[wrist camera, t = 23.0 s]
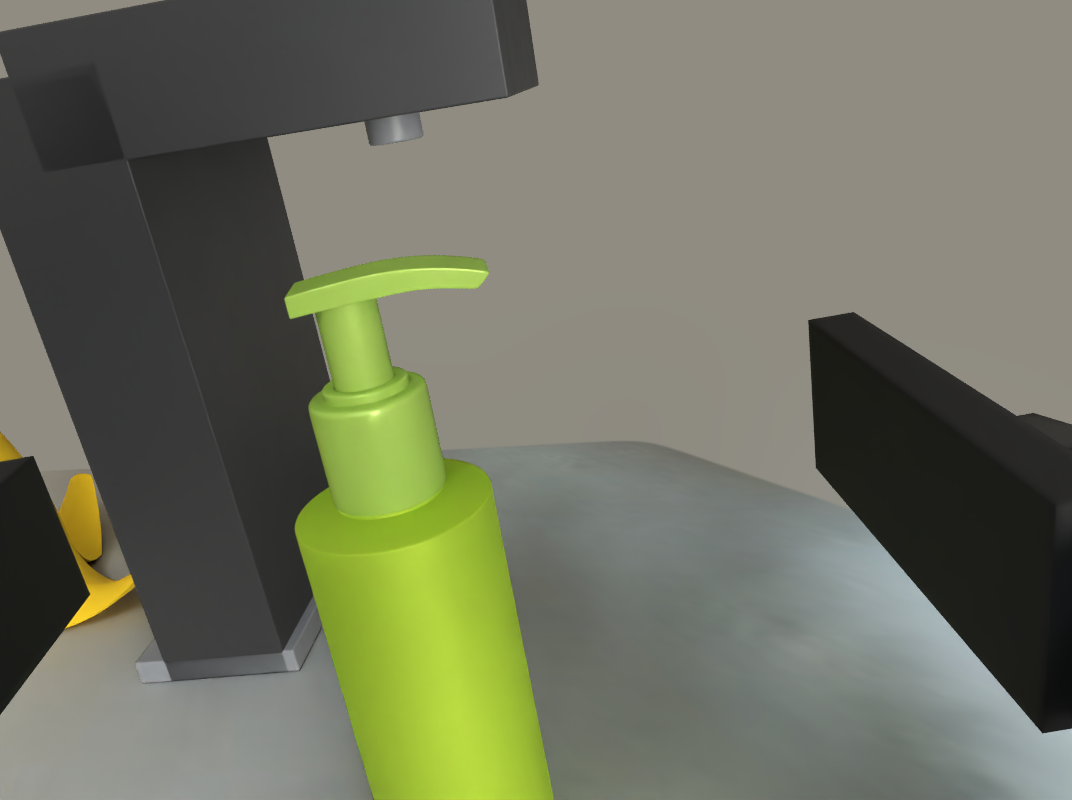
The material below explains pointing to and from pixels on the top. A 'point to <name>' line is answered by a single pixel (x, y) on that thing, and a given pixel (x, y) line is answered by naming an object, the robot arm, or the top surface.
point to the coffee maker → (208, 272)
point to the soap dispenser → (411, 562)
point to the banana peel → (82, 540)
